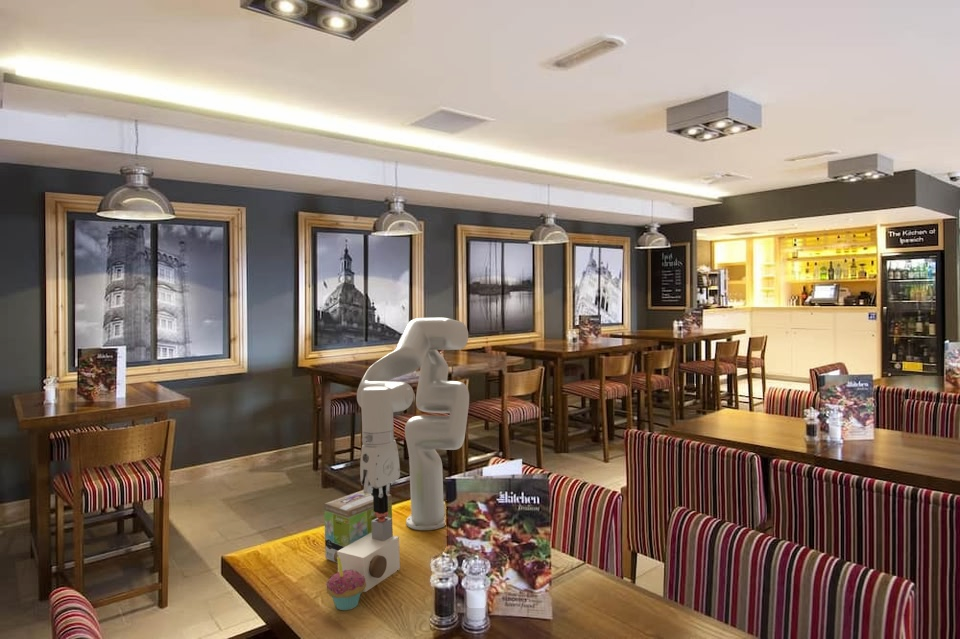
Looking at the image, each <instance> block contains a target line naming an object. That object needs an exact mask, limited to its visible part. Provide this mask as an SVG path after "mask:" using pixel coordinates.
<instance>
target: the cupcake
mask: <svg viewBox="0 0 960 639" xmlns="http://www.w3.org/2000/svg"><path fill="white" fill-rule="evenodd" d="M337 556H338V555H337ZM337 561H338V563H337V568H338V567H339V572H338V571H337V572H336V573H335V574H332V576H330V577H329V579H328V580H327V581H326V583H325V584H326V587H325V589H326V593H327V594H328V596H329V597H331V598H332V599H333V603H334V605H335V607H336V609H337V610H340V611H348V610H352V609H355V608H356V607H357V606H358V605H359V602H360V601H359V600H360V597H361V595H362V593H363V592H362V591H363V590H364V589H365V587H366V582H365V578H364V576H363V575H362V574H361V573H359V572H357V571H354V570H344V571H342V566H341V560H340V557H338V558H337Z"/></svg>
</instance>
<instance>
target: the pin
mask: <svg viewBox="0 0 960 639" xmlns="http://www.w3.org/2000/svg"><path fill="white" fill-rule="evenodd" d="M334 561H336V562H338V561H337V551H336V552H335V554H334ZM336 562H335V563H336ZM386 566H387V561H386V558H385V557H384V556H380V555H377V556H375V557H374V558H373V559H372V561H370V567H369V572H370V575H371V576H372V577H375V578H380V577H381V576H382V575H383V574H384V572H385V570H386Z"/></svg>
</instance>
